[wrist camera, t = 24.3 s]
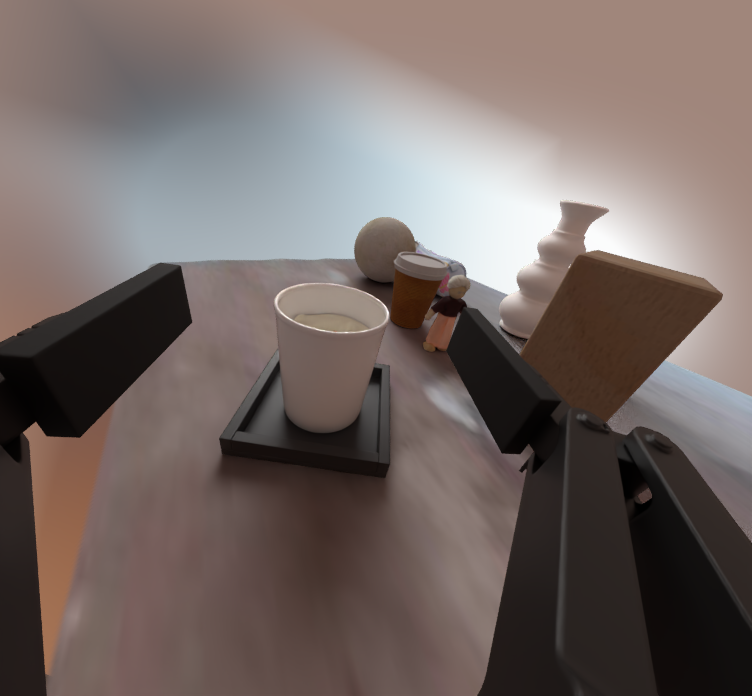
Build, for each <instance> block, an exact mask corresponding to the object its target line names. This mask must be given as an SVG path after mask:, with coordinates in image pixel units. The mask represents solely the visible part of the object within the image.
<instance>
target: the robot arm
mask: <svg viewBox="0 0 752 696" xmlns="http://www.w3.org/2000/svg"><path fill="white" fill-rule="evenodd" d="M191 323H192V319H191V314H190V309H189V304H188V299H187V294H186V289H185V284H184V279H183V274H182V269H181V266H179V265H173V264H166V263H159V264H157V265H155V266H153V267H151V268H150V269H148V270H146V271H144V272H142V273H140V274H138V275H136V276H135V277H133V278H131V279H129V280H127V281H125V282H123V283H121V284H119V285H117V286H116V287H114V288H112V289H110V290H108V291H106V292H104V293H102V294H100V295H99V296H97V297H95V298H93V299H91V300H89V301H87V302H85V303H83V304H81V305H80V306H78V307H76V308H74V309H72V310H70V311H68V312H65V313H62V314H59V315H56V316H52V317H49V318H47V319H45V320H43V321H41V322H39V323H37V324H35V325H33V326H32V328H27V329H25V330H23V331H22V332H19V333H18V334H17V336H12V337H10V338H8V339H6V340H4V341H2V342H0V696H47V694H46V679H45V665H44V651H43V636H42V621H41V608H40V593H39V579H38V564H37V550H36V535H35V521H34V506H33V492H32V477H31V463H30V449H29V441H28V439H27V438H26V436H25V435H24V434H23V432H24V431H25V430H26V429H27V428H28V427H30V426H31V425H32V424H33V423H35V422H37V424H38V425H39V426H40V428H41V429H42V430H43V432H44V433H45V435H46V436H53V437H78V438H80V437H81V436H82V435H83V434H84V433H85V432H86V431H87V430H88V429H89V428H90V427H91V426H92V425H93V424H94V423H95V422H96V421H97V419H99V418H100V417H101V416H102V414H103V413H104V412H105V411H106V410H107V409H108V408H109V407H110V406H111V405H112V404H113V403H114V402H115V401H116V400H117V399H118V398H119V397H120V396H121V395H122V394H123V393H124V392H125V391H126V390H127V389H128V388H129V387H130V386H131V385H132V384H133V383H134V382H135V381H136V380H137V379H138V378H139V376H140V375H141V374H142V373H143V372H144V371H145V370H146V369H147V368H148V367H149V366H150V365H151V364H152V363H153V362H154V361H155V360H156V359H157V358H158V357H159V356H160V355H161V354H162V353H163V352H164V351H165V350H166V349H167V348H168V347H169V346H170V345H171V344H172V343H173V342H174V341H175V340H176V338H177V337H178V336H179V335H180V334H181V333H182V332H183V331H184V330H185V329H186V328H187V327H188V326H189V325H190V324H191ZM446 352H447V353H448V355H449V357H450V359H451V361H452V363H453V364H454V366H455V368H456V370H457V372H458V374H459V375H460V377H461V379H462V381H463V383H464V385H465V386H466V388H467V390H468V392H469V394H470V396H471V397H472V399H473V401H474V403H475V405H476V407H477V408H478V410H479V412H480V414H481V416H482V418H483V420H484V421H485V423H486V425H487V427H488V429H489V431H490V432H491V434H492V436H493V438H494V440H495V442H496V443H497V445H498V447H499V449H500V451H501V453H505V454H521V453H522V451H523V450H524V449H525V447H526V446H527V445H528V444H530V446H531V447H532V449H533V450H534V453H533V454H532V455H531V456H530V457H529V459H528V460H527V461H526V462H525V463H524V465H523V466H522V467H521V469H520V470H519V471H520V472H523V471H524V470H525V469H527V472H526V477H525V482H524V487H523V492H522V497H521V502H520V507H519V512H518V517H517V522H516V527H515V532H514V537H513V542H512V547H511V552H510V557H509V562H508V567H507V572H506V577H505V582H504V587H503V592H502V597H501V602H500V607H499V612H498V617H497V622H496V627H495V632H494V637H493V642H492V647H491V652H490V657H489V662H488V667H487V672H486V676H485V680H484V683H483V685H482V688H481V690H480V692H479V693H478V695H477V696H752V543H751V541H750V540H749V539H748V537H747V536H746V535H745V534H744V532H743V531H742V530H741V528H740V527H739V526H738V524H737V523H736V522H735V520H734V519H733V518H732V516H731V515H730V514H729V512H728V511H727V510H726V508H725V507H724V506H723V504H722V503H721V502H720V501H719V499H718V498H717V497H716V495H715V494H714V493H713V491H712V490H711V489H710V487H709V486H708V485H707V483H706V482H705V481H704V479H703V478H702V477H701V475H700V474H699V473H698V471H697V470H696V469H695V467H694V466H693V465H692V464H691V462H690V461H689V460H688V458H687V457H686V456H685V454H684V453H683V452H682V451H681V450H680V449H679V447H678V446H677V445H675V444H674V443H673V442H672V441H670V439H669V438H667V437H666V436H663V434H661V433H659V432H655V431H653V430H651V429H648V428H645V427H636V428H634V429H633V430H632V431H631V432H630V433H629V434H628V435H627V436H626V435H623V434H620V433H616V432H613V431H612V430H611V428H610V427H609V426H608V425H607V423H606V422H605V421H603V420H602V419H601V418H599V417H598V416H596V415H595V414H593V413H591V412H589V411H587V410H584V409H582V408H576V407H574V408H572V407H571V406H570V405H569V404H568V403H567V402H566V401H565V400H564V399H563V398H562V396H561V395H560V394H559V393H558V392H557V391H556V390H555V389H554V388H553V387H552V386H551V385H549V383H548V382H547V380H546V379H545V378H542V377H543V376H542V375H541V374H540V373H539V372H538V371H537V370H536V369H535V368H534V367H533V366H531V365H530V364H529V363H527V362H526V361H525V360H524V359H523V358H522V357H521V356H520V355H519V354H518V353H517V352H516V351H515V350H514V348H513V347H512V346H511V345H510V344H509V343H508V342H507V341H506V340H505V339H504V338H503V337H502V335H501V334H500V333H499V332H498V331H497V330H496V329H495V328H494V327H493V326H492V325H491V323H490V322H489V321H488V320H487V319H486V318H485V317H484V316H483V315H482V314H481V313H480V311H479V310H478V309H474V308H467V307H464V308H463V310H462V312H461V315H460V317H459V320H458V322H457V325H456V327H455V330H454V332H453V335H452V337H451V340H450V342H449V345H448V347H447V350H446ZM648 487H649V489H650V491H651V493H652V498H651V499H650V500H648V501H647V502H645V503H643V504H642V503H641V502H640V500H639V498H638V495H639V494H640V493H642V492H643V491H644V490H646V489H647V488H648Z"/></svg>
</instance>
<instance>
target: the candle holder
mask: <svg viewBox="0 0 752 696" xmlns="http://www.w3.org/2000/svg"><path fill="white" fill-rule="evenodd" d="M274 310H275V315H276V326H277V338H278V350H279V362H280V374H281V385H282V396H283V405H284V410H285V412H286V415H287V416H288V418H289V419H290V420H291V421H292V422H293V423H294V424H295V425H296V426H298V427H300V428H302V429H304V430H306V431H310V432H314V433H332V432H336V431H339V430H342V429H344V428H346V427H348V426H349V425H351V424H352V423H353V422H354V421H355V420H356V418H357V417H358V415H359V413H360V410H361V408H362V405H363V402H364V398H365V395H366V392H367V388H368V385H369V382H370V379H371V375H372V372H373V369H374V365H375V362H376V359H377V355H378V352H379V349H380V345H381V342H382V339H383V335H384V332H385V329H386V326H387V324H388V322H389V311H388V309H387V307H386V306H385V305H384V304H383V303H382V302H381V301H380V300H379V299H377V298H376V297H374V296H372V295H370V294H368V293H366V292H363V291H361V290H358V289H355V288H351V287H347V286H342V285H336V284H327V283H308V284H300V285H295V286H292V287H289V288H286V289H284V290H283V291H281V292H280V293H279V294H278V295H277V296H276V297H275V300H274Z"/></svg>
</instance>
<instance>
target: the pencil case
mask: <svg viewBox="0 0 752 696" xmlns="http://www.w3.org/2000/svg"><path fill="white" fill-rule="evenodd" d="M415 244H416V253H421V254H425V255H429V256H432V257H435V258H438V259H440V260H442V261H444V262H445V263H446V264H447V276H445V278H444V279H443V280H442V282H441V284H440V286H439V288H438V290H437V293H436V294H438V295H440V296H442V297H444V296H449V288H448V287H447V285H448V281H449V280H450V279H451V277H453V276H456V275H464V277H466V270H465V267H464V266H463V265H462V264H461V263H459V262H458V261H455V260H451V259H449V258H446V257H443V256H439V255H437V254H435V253H434V252H432V251H430V250H428V249H426V248H425V247H424V246H423V245H422V244H421V243H420V242H418V241H415Z"/></svg>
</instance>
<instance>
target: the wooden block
mask: <svg viewBox="0 0 752 696" xmlns="http://www.w3.org/2000/svg"><path fill="white" fill-rule="evenodd" d="M722 296H723V294H722V293H720V292H719V291H718V290H717V289H716V288H715V287H714V286H713V285H711V284H710V283H709V282H708V281H707V280H705V279H704V278H701V277H696V276H693V275H689V274H686V273H682V272H678V271H674V270H671V269H667V268H663V267H659V266H655V265H652V264H648V263H644V262H640V261H636V260H633V259H629V258H625V257H622V256H617V255H614V254H610V253H607V252H603V251H599V250H597V251H591V252H587V253H581V254H579V255H577V256H576V257H575V259H574V260H573V262H572V264H571V266H570V268H569V269H568V271H567V273H566V274H565V276H564V278H563V280H562V281H561V283H560V285H559V287H558V288H557V290H556V292H555V294H554V295H553V297H552V299H551V301H550V302H549V304H548V306H547V308H546V309H545V311H544V313H543V314H542V316H541V318H540V320H539V321H538V323H537V325H536V327H535V328H534V330H533V332H532V334H531V335H530V337H529V339H528V341H527V342H526V344H525V346H524V348H523V349H522V351H521V353H520V356H521V357H522V358H523V359H524V360H525V361H526V362H527V363H529V364H530V365H531V366H533V367H534V368H535V369H536V370H537V371H538V372H539V373H540V374H541V375H542V376H543V377H542V378H545V379H546V380H547V382H548V383H549V385H551V386H552V387H553V388H554V389H555V390H556V391H557V392H558V393H559V394H560V395H561V396H562V398H563V399H564V400H565V401H566V402H567V403H568V404H569V405H570V406H571V407H572V408H574V407H576V408H582V409H584V410H587V411H589V412H591V413H593V414H595V415H596V416H598V417H599V418H601V419H602V420H603V421H605V422H607V421H608V420H609V419H610V418H611V417H612V416H613V415H614V413H615V412H616V411H617V410H618V409H619V408H620V407H621V406H622V405H623V404H624V403H625V402H626V401H627V400H628V399H629V398H630V396H631V395H632V394H633V393H634V392H635V391H636V390H637V389H638V388H639V387H640V386H641V385H642V384H643V383H644V382H645V380H646V379H647V378H648V377H649V376H650V375H651V374H652V373H653V372H654V371H655V370H656V369H657V368H658V367H659V366H660V365H661V363H662V362H663V361H664V360H665V359H666V358H667V357H668V356H669V355H670V354H671V353H672V352H673V351H674V350H675V349H676V347H677V346H678V345H679V344H680V343H681V342H682V341H683V340H684V339H685V338H686V337H687V336H688V335H689V334H690V333H691V332H692V330H693V329H694V328H695V327H696V326H697V325H698V324H699V323H700V322H701V321H702V320H703V319H704V318H705V317H706V316H707V314H708V313H709V312H710V311H711V310H712V309H713V308H714V307H715V306H716V305H717V304H718V303H719V302H720V301H721V299H722Z"/></svg>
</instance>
